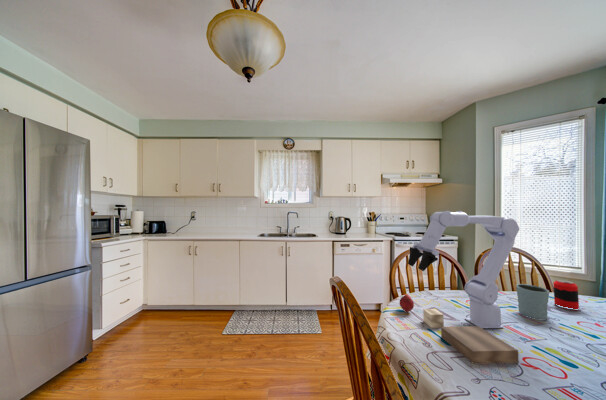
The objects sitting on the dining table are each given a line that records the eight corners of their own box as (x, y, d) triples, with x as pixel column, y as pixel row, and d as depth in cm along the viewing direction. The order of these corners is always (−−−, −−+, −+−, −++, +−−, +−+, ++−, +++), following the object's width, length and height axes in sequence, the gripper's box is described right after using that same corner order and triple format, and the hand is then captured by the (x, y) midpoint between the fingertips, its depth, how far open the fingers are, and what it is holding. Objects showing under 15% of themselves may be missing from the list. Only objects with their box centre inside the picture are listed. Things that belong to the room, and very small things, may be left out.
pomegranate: (415, 315, 95) (415, 296, 96) (401, 314, 97) (401, 295, 97) (411, 310, 101) (411, 292, 102) (398, 308, 102) (398, 291, 103)
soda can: (558, 308, 105) (557, 282, 105) (551, 302, 111) (550, 278, 112) (582, 312, 101) (581, 285, 101) (574, 306, 107) (572, 280, 108)
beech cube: (435, 321, 91) (435, 308, 91) (443, 327, 86) (443, 314, 86) (423, 321, 91) (423, 309, 91) (431, 328, 86) (430, 314, 86)
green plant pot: (523, 309, 103) (522, 282, 104) (555, 318, 94) (553, 289, 95) (512, 313, 99) (511, 285, 100) (544, 323, 90) (543, 293, 91)
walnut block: (478, 337, 80) (478, 326, 80) (518, 364, 66) (518, 350, 66) (441, 338, 79) (441, 326, 79) (473, 365, 65) (473, 351, 65)
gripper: (413, 231, 97) (398, 258, 96) (434, 234, 83) (416, 266, 82) (426, 239, 97) (411, 266, 96) (450, 244, 83) (433, 276, 82)
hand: (415, 267), depth 89 cm, fingers open, 7 cm apart
